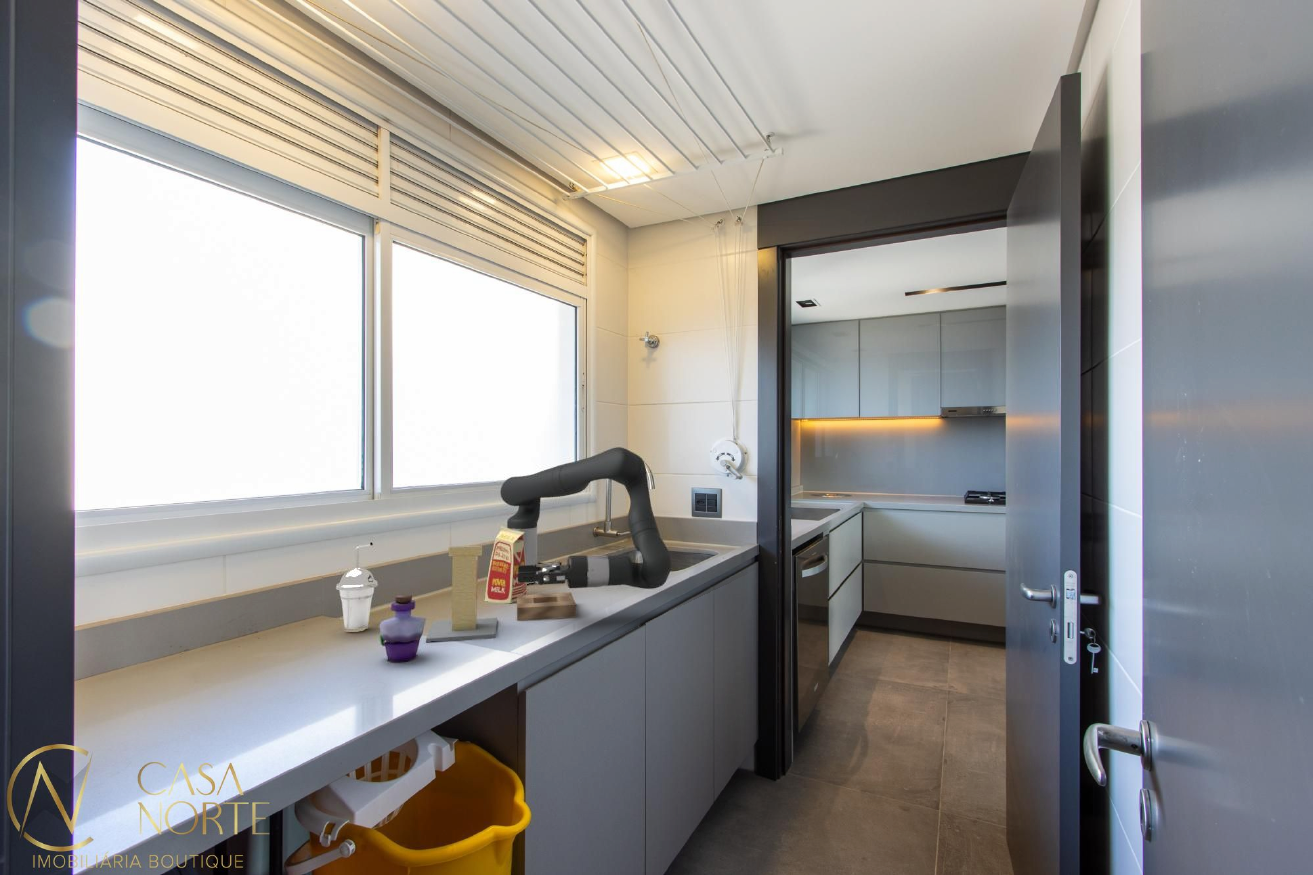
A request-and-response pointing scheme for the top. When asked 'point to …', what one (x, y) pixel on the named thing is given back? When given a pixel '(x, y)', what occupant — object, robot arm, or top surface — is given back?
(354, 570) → the cup with straw
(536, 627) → the top surface
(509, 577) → the milk carton
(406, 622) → the potion bottle
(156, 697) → the top surface
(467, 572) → the pale yellow tall block
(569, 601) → the socket block
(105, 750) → the top surface
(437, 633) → the slate mat
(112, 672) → the top surface
